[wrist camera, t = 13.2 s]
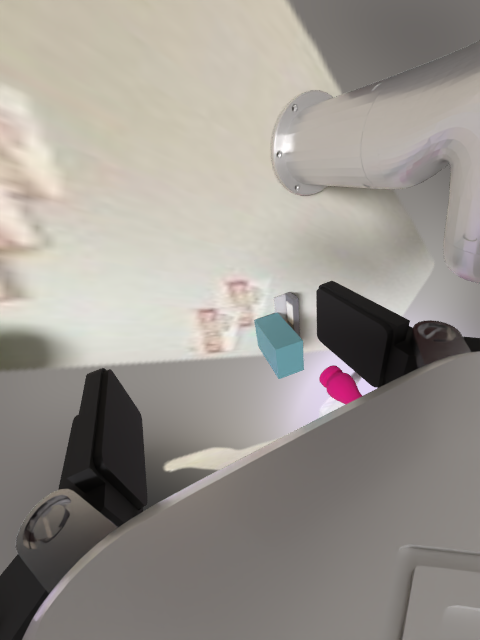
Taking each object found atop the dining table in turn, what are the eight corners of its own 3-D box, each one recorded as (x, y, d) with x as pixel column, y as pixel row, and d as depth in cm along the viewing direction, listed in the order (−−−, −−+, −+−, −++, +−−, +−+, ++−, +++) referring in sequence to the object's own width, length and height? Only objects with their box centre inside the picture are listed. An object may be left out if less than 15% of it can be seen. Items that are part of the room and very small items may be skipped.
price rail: (289, 291, 49) (298, 298, 47) (293, 346, 57) (300, 353, 55) (273, 297, 48) (281, 304, 46) (279, 351, 56) (285, 359, 54)
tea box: (258, 346, 53) (278, 379, 45) (254, 320, 49) (275, 349, 41) (280, 339, 54) (304, 369, 46) (278, 312, 50) (303, 340, 42)
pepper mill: (314, 375, 65) (375, 441, 49) (336, 359, 66) (404, 419, 49) (321, 389, 70) (380, 453, 54) (342, 373, 70) (407, 433, 54)
